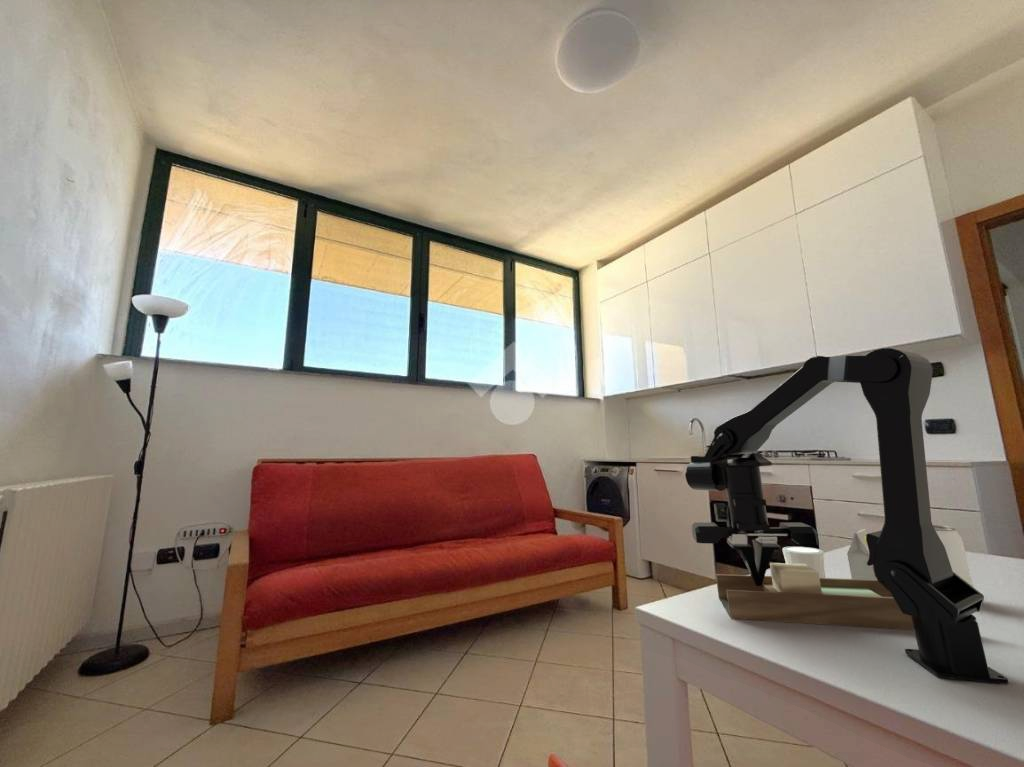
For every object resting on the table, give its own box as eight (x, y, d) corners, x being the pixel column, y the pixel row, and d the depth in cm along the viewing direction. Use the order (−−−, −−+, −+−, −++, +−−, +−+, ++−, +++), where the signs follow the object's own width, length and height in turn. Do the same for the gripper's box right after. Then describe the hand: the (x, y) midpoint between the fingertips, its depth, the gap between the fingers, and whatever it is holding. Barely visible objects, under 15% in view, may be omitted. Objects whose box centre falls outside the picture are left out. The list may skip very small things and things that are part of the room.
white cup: (815, 581, 83) (809, 545, 85) (838, 592, 77) (831, 552, 78) (780, 581, 84) (775, 546, 85) (800, 592, 77) (794, 553, 79)
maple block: (822, 598, 65) (818, 572, 66) (783, 597, 67) (779, 571, 68) (808, 588, 70) (804, 563, 71) (773, 586, 72) (769, 562, 73)
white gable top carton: (852, 585, 80) (843, 532, 82) (863, 578, 84) (854, 527, 86) (877, 589, 78) (866, 534, 79) (886, 582, 81) (876, 529, 83)
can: (976, 608, 67) (958, 531, 69) (921, 599, 72) (906, 527, 74) (978, 598, 71) (961, 526, 73) (925, 590, 76) (911, 523, 78)
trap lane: (965, 633, 58) (958, 601, 59) (730, 618, 66) (727, 590, 67) (919, 608, 68) (913, 581, 68) (718, 598, 76) (715, 574, 77)
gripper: (787, 488, 78) (801, 574, 75) (684, 490, 83) (693, 571, 80) (811, 492, 68) (829, 593, 65) (691, 494, 73) (702, 588, 70)
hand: (758, 585), depth 70 cm, fingers closed
